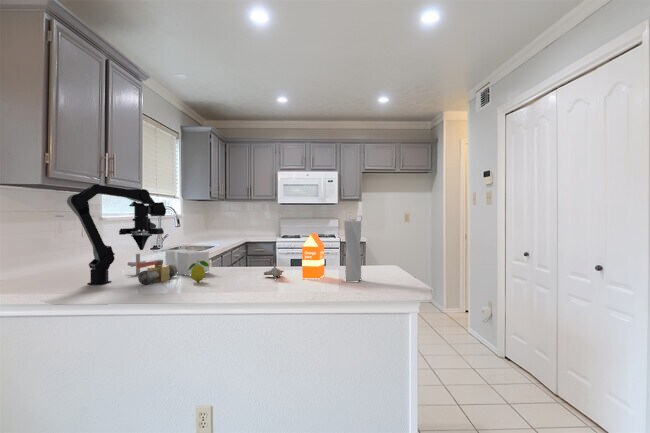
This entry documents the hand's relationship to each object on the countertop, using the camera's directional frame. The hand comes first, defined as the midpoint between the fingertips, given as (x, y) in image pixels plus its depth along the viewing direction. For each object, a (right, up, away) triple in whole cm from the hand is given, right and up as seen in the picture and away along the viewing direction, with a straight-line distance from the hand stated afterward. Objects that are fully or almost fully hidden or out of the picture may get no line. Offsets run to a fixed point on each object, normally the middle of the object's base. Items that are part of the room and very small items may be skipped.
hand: (141, 250), depth 165 cm
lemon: (+31, -13, -13) cm, 36 cm away
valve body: (+11, -13, -7) cm, 19 cm away
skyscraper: (+97, -12, -13) cm, 99 cm away
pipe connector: (-9, -13, +13) cm, 20 cm away
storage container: (+14, -13, +17) cm, 26 cm away
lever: (+11, -5, -13) cm, 17 cm away
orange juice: (+80, -12, -5) cm, 81 cm away
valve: (+62, -13, -5) cm, 64 cm away
